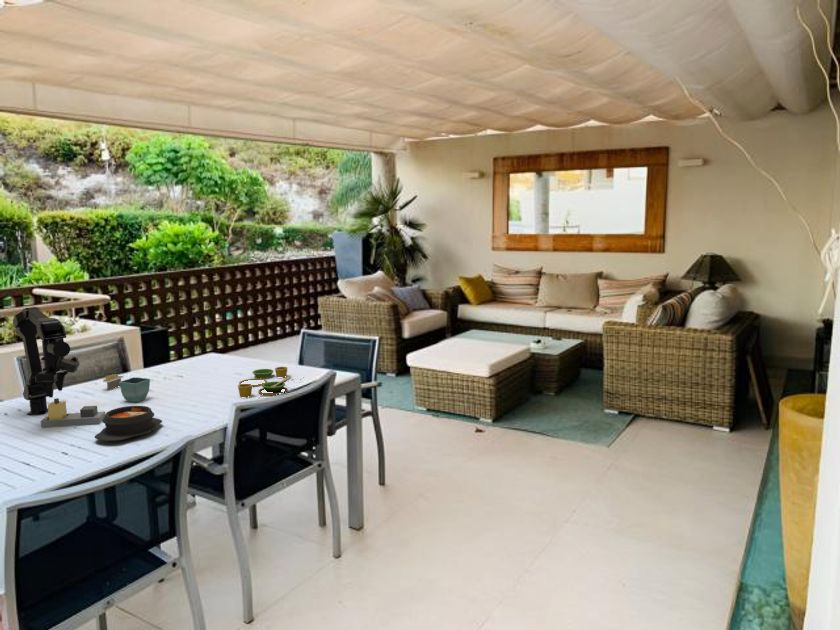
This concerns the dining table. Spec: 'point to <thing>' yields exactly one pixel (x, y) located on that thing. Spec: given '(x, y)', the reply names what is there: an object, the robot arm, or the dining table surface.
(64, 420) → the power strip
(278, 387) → the tableware set
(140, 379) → the flower pot
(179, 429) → the dining table surface
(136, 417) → the casserole
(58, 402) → the plug
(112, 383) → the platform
